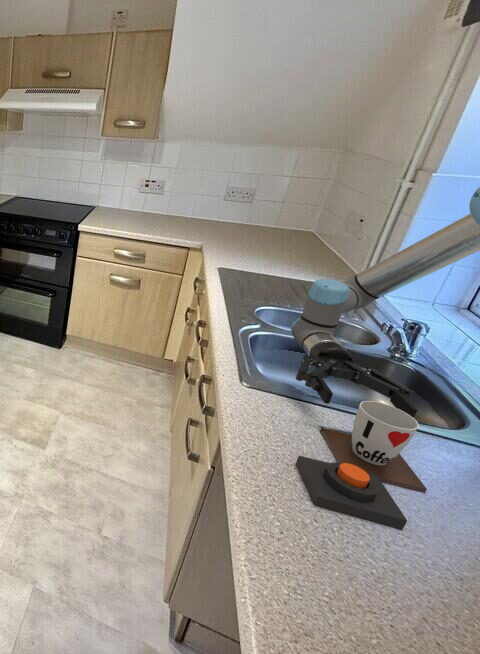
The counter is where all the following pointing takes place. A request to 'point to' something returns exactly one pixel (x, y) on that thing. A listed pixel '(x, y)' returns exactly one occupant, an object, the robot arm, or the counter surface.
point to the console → (349, 494)
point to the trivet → (389, 473)
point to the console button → (353, 475)
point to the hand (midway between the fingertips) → (369, 406)
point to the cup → (381, 432)
